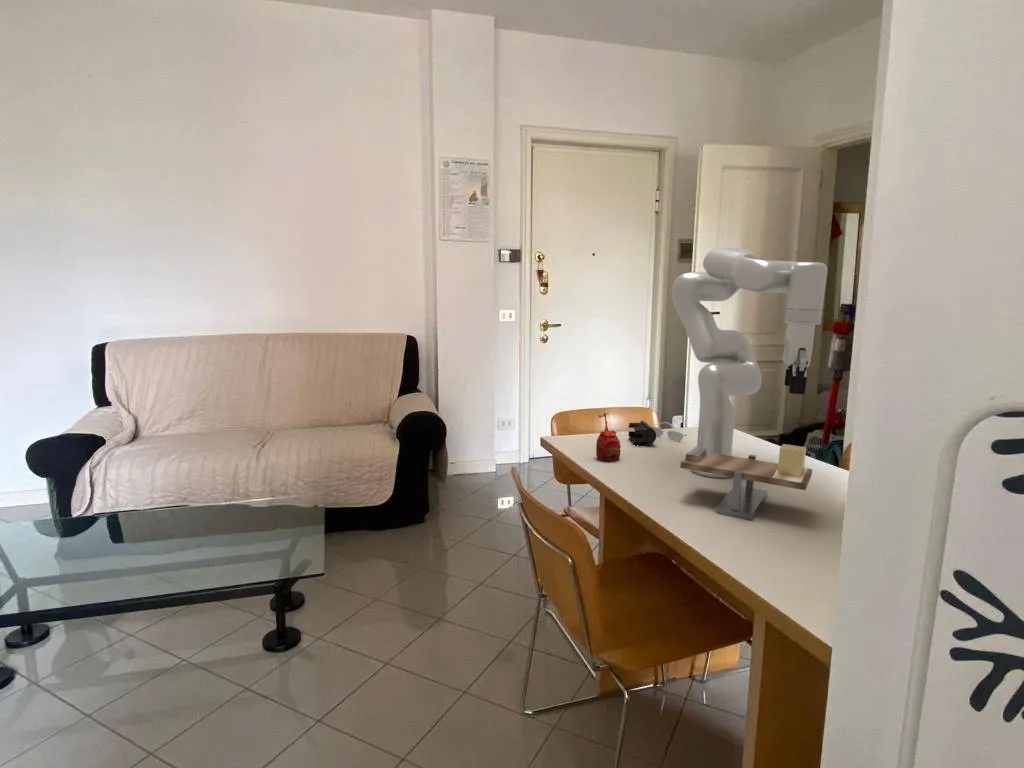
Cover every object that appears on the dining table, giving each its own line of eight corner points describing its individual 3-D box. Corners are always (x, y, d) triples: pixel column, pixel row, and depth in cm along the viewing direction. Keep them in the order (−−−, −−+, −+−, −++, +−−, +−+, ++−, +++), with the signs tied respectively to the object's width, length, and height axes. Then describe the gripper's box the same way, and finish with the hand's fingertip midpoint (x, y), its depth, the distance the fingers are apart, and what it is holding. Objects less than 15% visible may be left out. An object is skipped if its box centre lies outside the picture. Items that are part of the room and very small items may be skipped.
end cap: (655, 447, 197) (657, 427, 196) (634, 447, 197) (635, 427, 196) (648, 439, 207) (649, 420, 206) (627, 439, 206) (628, 420, 205)
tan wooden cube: (780, 468, 143) (783, 443, 142) (803, 471, 141) (806, 447, 140) (777, 473, 139) (779, 448, 138) (801, 477, 137) (803, 452, 136)
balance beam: (679, 468, 147) (680, 456, 146) (695, 455, 159) (696, 444, 158) (805, 491, 132) (806, 478, 132) (812, 474, 144) (813, 462, 144)
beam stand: (715, 512, 140) (719, 471, 139) (734, 489, 157) (737, 451, 155) (751, 520, 136) (755, 477, 135) (766, 495, 153) (770, 456, 151)
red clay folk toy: (603, 463, 178) (605, 414, 175) (590, 457, 184) (592, 409, 181) (624, 460, 181) (626, 412, 178) (611, 454, 187) (613, 407, 185)
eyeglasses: (645, 436, 213) (645, 425, 212) (671, 428, 226) (672, 418, 225) (684, 444, 202) (684, 433, 202) (709, 436, 215) (710, 425, 214)
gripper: (781, 313, 146) (773, 382, 149) (789, 318, 130) (780, 395, 133) (815, 315, 144) (806, 384, 147) (827, 320, 128) (817, 398, 131)
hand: (794, 389), depth 140 cm, fingers open, 9 cm apart
